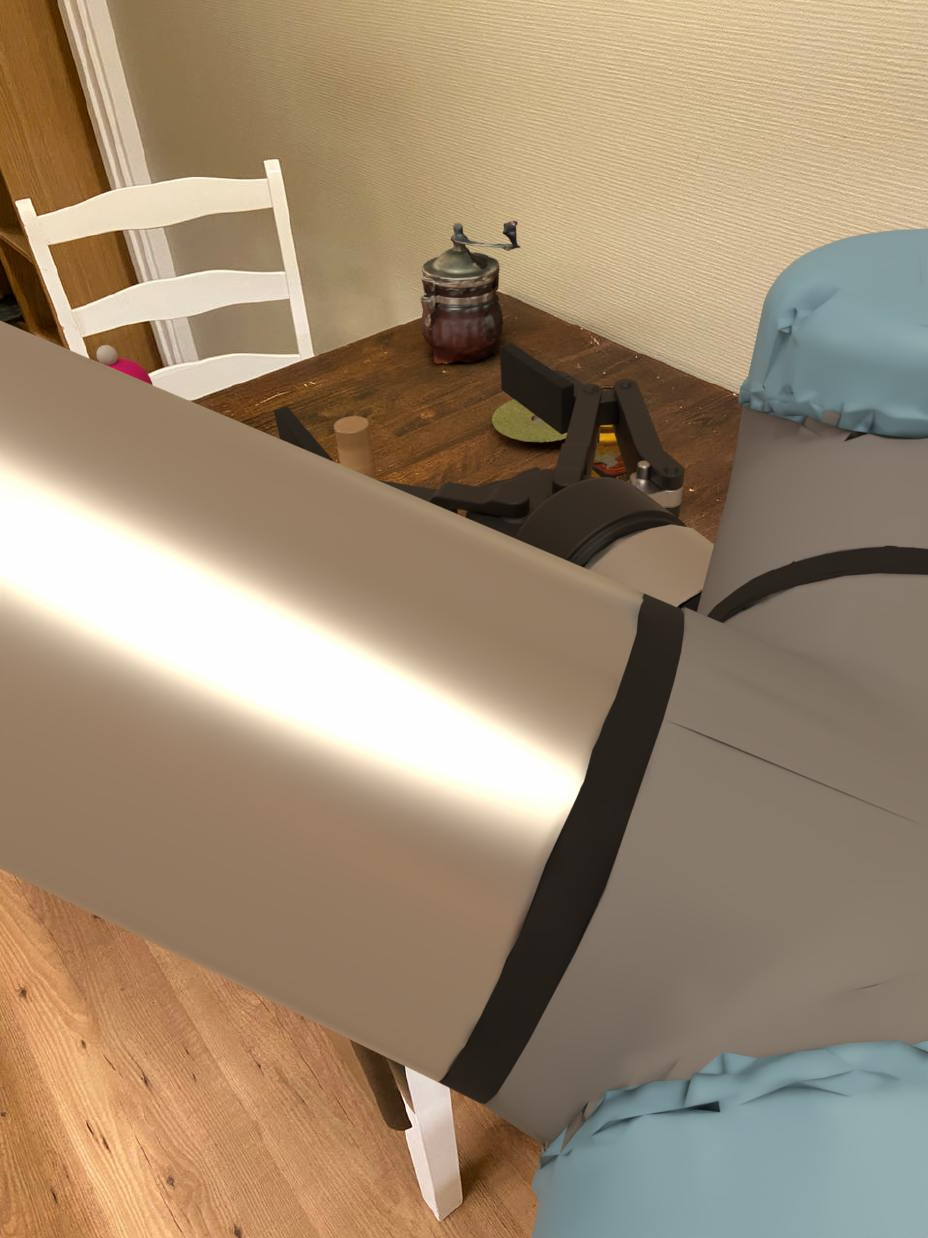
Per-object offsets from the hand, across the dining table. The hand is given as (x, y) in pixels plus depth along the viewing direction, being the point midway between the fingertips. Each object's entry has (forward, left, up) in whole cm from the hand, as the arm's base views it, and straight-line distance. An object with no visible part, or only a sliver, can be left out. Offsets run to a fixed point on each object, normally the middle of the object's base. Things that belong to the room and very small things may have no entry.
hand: (400, 397), depth 49 cm
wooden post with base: (-5, +8, -28) cm, 30 cm away
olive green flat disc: (+9, +46, -28) cm, 55 cm away
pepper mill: (-30, +28, -28) cm, 50 cm away
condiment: (+14, +31, -28) cm, 45 cm away
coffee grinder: (+1, +68, -28) cm, 74 cm away
